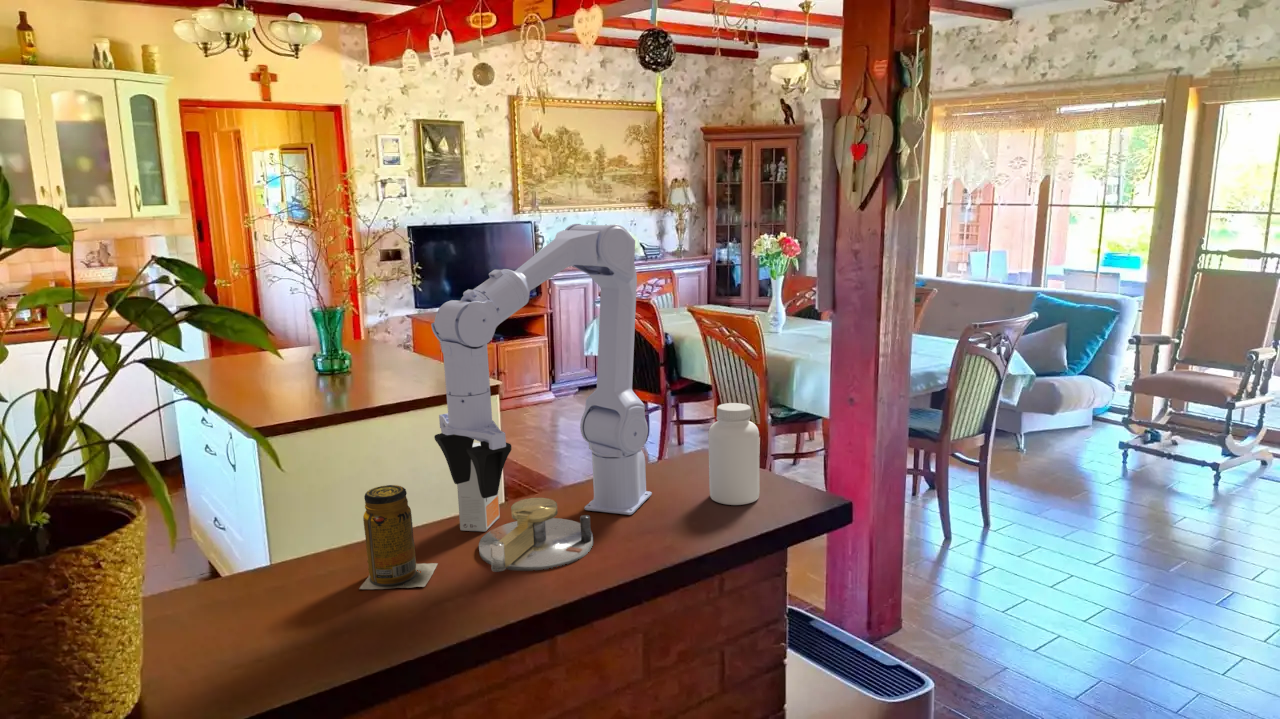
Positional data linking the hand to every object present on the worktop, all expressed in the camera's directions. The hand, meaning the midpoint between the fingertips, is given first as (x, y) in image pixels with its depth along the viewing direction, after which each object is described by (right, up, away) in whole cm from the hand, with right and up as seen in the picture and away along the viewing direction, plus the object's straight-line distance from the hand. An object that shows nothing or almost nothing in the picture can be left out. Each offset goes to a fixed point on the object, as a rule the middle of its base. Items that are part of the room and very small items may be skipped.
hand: (475, 488), depth 118 cm
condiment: (-9, -11, -3) cm, 15 cm away
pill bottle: (+37, -5, +21) cm, 43 cm away
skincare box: (-2, -8, +14) cm, 16 cm away
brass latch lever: (+6, -8, +1) cm, 10 cm away
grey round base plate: (+8, -9, +5) cm, 13 cm away
